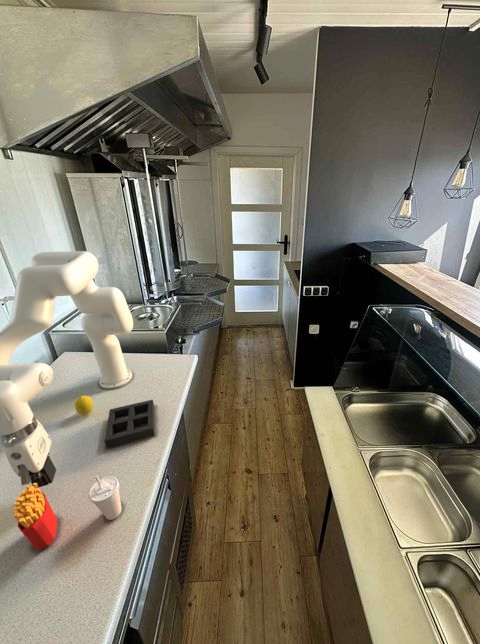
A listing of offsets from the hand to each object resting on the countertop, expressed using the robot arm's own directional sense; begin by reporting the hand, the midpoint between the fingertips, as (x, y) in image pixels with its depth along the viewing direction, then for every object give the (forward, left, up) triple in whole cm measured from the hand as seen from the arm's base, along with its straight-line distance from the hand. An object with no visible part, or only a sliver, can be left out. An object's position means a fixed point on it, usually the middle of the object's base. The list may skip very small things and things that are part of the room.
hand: (44, 476), depth 76 cm
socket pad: (-17, +20, -5) cm, 26 cm away
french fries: (+12, +2, -5) cm, 13 cm away
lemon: (-29, +4, -5) cm, 29 cm away
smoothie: (+12, +17, -5) cm, 22 cm away
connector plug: (0, 0, -1) cm, 1 cm away
